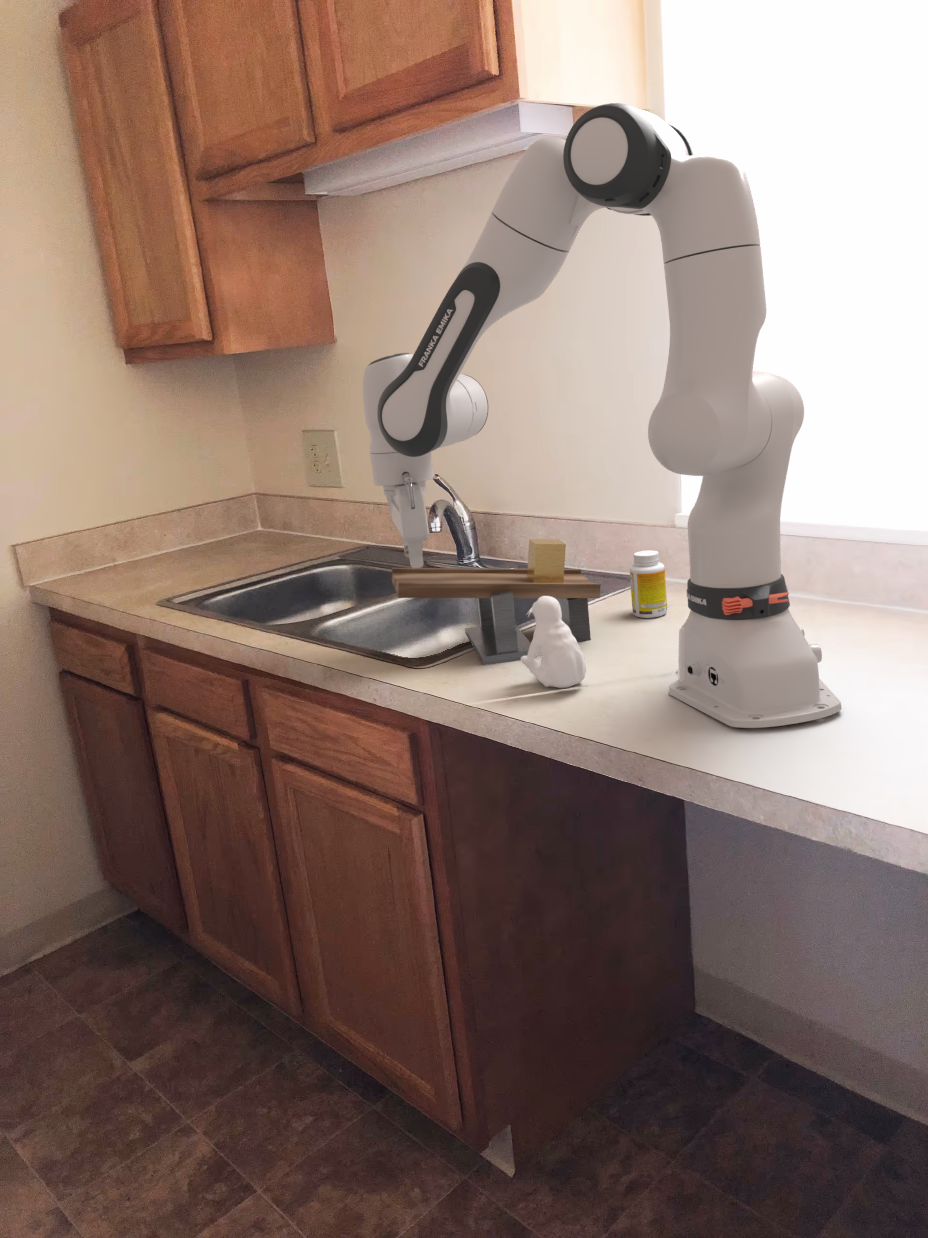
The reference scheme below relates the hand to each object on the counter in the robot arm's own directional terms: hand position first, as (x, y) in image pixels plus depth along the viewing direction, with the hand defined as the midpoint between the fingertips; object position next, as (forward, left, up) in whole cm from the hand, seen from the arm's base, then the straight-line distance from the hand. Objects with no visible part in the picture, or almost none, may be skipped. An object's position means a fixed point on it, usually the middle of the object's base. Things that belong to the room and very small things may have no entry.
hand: (414, 561), depth 150 cm
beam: (0, -11, -6) cm, 13 cm away
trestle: (0, -11, -15) cm, 19 cm away
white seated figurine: (-21, -16, -15) cm, 30 cm away
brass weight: (0, -20, -6) cm, 20 cm away
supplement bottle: (+5, -37, -15) cm, 41 cm away
